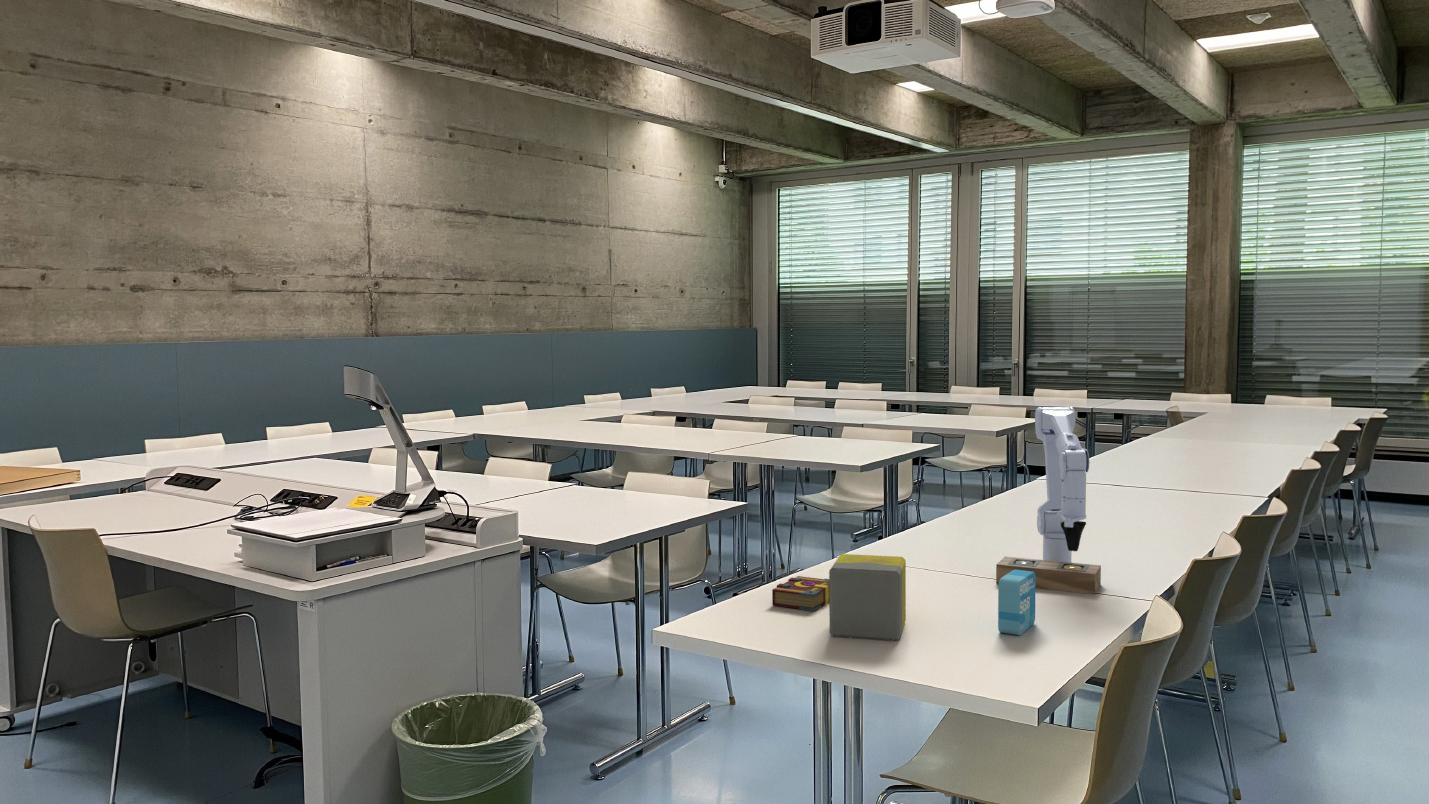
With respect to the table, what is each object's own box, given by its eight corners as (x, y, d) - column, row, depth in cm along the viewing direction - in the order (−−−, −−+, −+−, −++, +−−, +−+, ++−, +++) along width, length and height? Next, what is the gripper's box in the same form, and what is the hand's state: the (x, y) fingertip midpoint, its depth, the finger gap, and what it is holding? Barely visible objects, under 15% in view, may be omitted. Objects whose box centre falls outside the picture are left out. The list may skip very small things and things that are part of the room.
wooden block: (1004, 574, 268) (1005, 556, 268) (1100, 584, 257) (1100, 565, 256) (996, 583, 259) (996, 564, 259) (1094, 594, 248) (1095, 573, 248)
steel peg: (1017, 577, 264) (1017, 560, 263) (1034, 578, 262) (1034, 561, 261) (1014, 580, 260) (1014, 563, 260) (1030, 582, 258) (1030, 565, 258)
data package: (1018, 637, 215) (1019, 582, 214) (997, 634, 217) (998, 579, 216) (1035, 623, 224) (1035, 570, 224) (1015, 620, 227) (1015, 567, 226)
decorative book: (771, 607, 241) (770, 586, 241) (799, 591, 255) (799, 572, 255) (814, 613, 236) (814, 592, 236) (841, 596, 250) (840, 577, 249)
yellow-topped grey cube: (909, 610, 236) (909, 547, 235) (899, 642, 213) (899, 571, 211) (845, 606, 240) (845, 544, 239) (829, 637, 217) (828, 568, 216)
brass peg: (1065, 581, 258) (1065, 564, 258) (1082, 583, 256) (1082, 566, 256) (1062, 585, 254) (1062, 568, 254) (1080, 587, 252) (1080, 569, 252)
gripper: (1062, 491, 262) (1061, 543, 263) (1051, 500, 249) (1051, 554, 250) (1090, 493, 258) (1090, 545, 259) (1081, 502, 246) (1081, 557, 247)
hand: (1073, 550), depth 255 cm, fingers closed
